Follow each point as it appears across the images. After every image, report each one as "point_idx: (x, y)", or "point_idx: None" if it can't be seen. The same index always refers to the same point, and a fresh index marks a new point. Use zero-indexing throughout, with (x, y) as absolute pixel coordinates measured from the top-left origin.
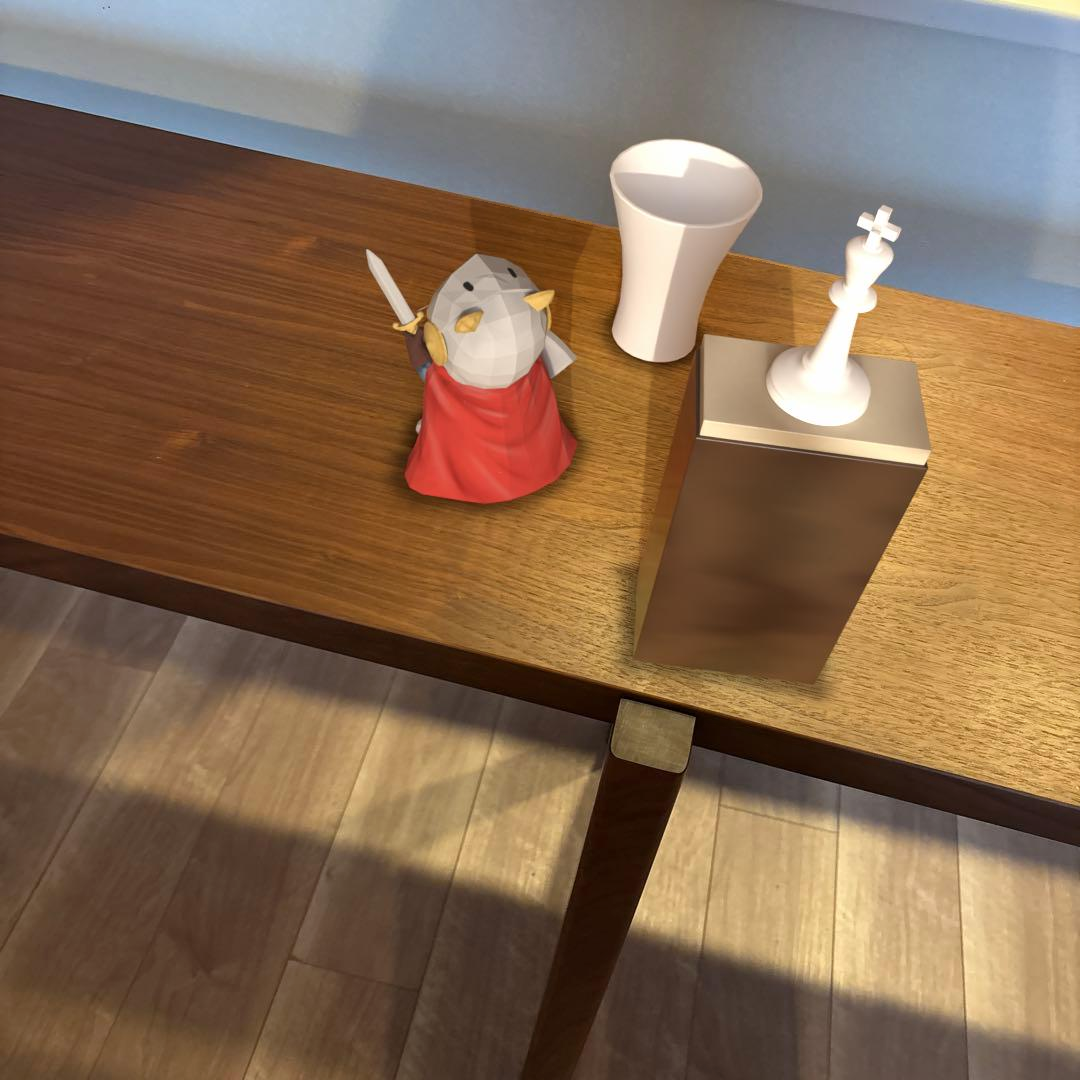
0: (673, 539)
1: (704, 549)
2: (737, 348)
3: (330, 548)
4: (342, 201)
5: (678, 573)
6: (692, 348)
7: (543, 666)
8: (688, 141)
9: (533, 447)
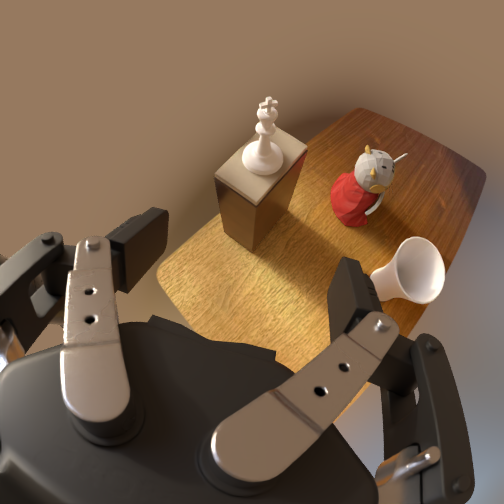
0: None
1: None
2: (295, 150)
3: (331, 148)
4: (457, 225)
5: None
6: None
7: None
8: (441, 288)
9: (342, 199)
